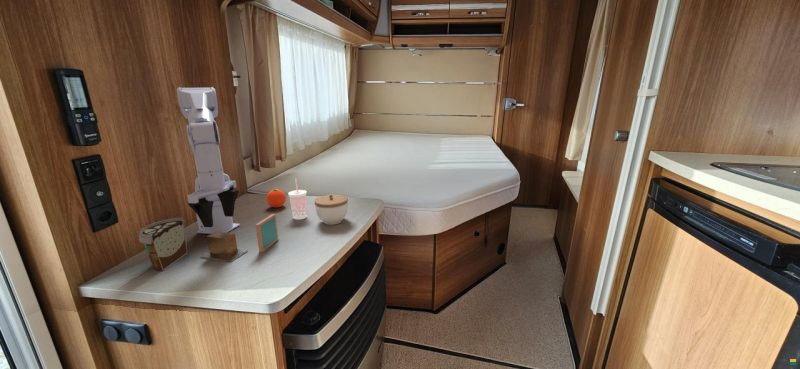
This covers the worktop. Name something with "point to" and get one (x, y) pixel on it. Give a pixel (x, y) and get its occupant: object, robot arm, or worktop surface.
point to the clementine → (276, 198)
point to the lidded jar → (331, 208)
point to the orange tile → (267, 232)
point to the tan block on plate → (223, 247)
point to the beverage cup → (298, 203)
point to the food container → (164, 242)
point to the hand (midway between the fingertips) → (219, 221)
